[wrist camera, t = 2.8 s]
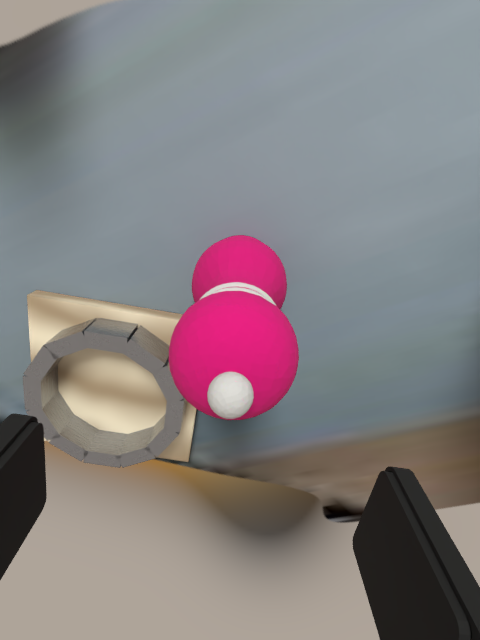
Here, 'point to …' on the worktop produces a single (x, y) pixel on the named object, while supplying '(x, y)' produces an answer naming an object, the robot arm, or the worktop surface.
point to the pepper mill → (235, 333)
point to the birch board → (108, 368)
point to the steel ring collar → (78, 433)
